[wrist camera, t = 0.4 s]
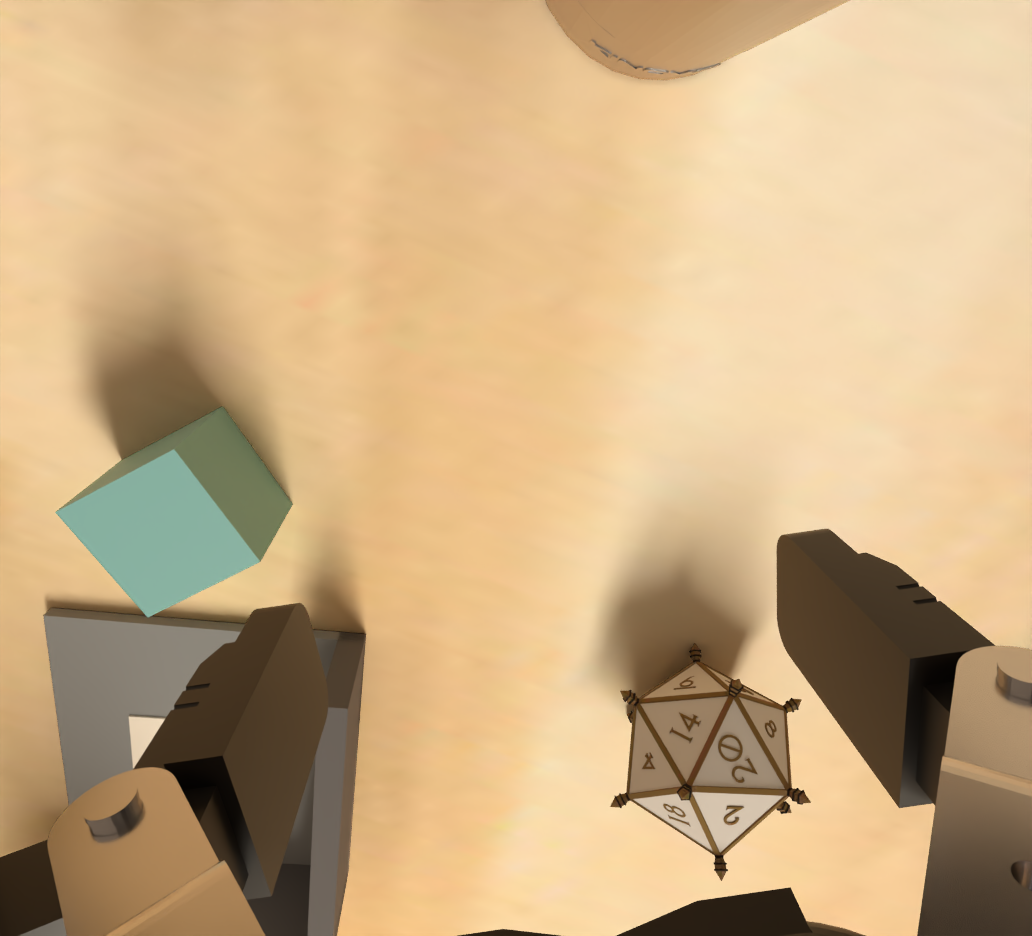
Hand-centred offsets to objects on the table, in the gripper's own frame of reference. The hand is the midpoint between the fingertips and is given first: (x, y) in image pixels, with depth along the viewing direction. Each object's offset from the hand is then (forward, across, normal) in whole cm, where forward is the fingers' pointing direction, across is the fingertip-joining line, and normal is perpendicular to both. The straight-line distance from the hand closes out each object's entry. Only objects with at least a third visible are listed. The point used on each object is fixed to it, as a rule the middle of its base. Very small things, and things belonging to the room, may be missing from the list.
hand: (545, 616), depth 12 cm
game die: (+19, -7, +17) cm, 26 cm away
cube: (+18, +13, +2) cm, 22 cm away
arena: (+18, +17, +17) cm, 30 cm away
